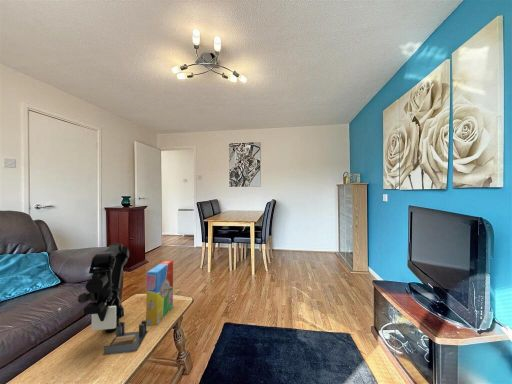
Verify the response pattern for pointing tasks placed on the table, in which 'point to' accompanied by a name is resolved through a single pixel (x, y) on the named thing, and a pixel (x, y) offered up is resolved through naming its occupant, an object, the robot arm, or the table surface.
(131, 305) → the table surface
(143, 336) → the rack
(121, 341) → the offcut upper
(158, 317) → the game box
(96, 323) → the panel
